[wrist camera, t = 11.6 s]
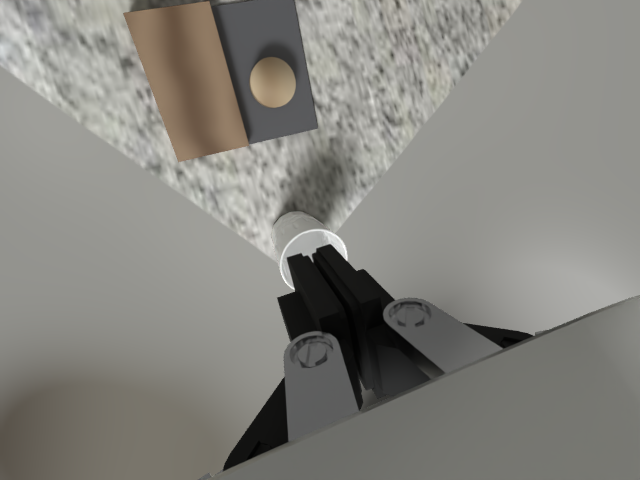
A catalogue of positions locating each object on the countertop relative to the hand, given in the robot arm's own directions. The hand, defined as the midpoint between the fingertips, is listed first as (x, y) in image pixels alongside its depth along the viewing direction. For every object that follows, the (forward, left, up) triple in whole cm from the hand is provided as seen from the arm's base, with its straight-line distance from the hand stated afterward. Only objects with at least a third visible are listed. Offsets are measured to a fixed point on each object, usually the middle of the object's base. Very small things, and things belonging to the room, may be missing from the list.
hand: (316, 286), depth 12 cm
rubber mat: (-6, -10, -31) cm, 33 cm away
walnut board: (+3, -10, -31) cm, 33 cm away
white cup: (-4, +10, -31) cm, 33 cm away
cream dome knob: (-5, -9, -31) cm, 32 cm away
